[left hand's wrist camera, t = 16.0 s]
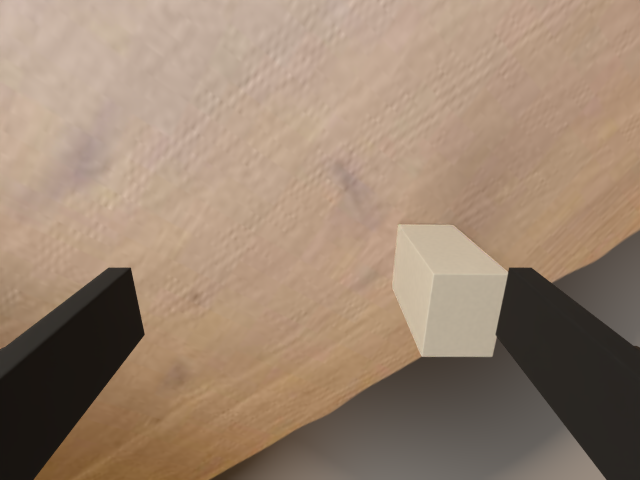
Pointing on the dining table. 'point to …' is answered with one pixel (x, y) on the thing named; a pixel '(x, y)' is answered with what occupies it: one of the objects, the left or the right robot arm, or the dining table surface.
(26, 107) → the dining table surface
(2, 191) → the dining table surface
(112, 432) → the dining table surface
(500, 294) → the block
